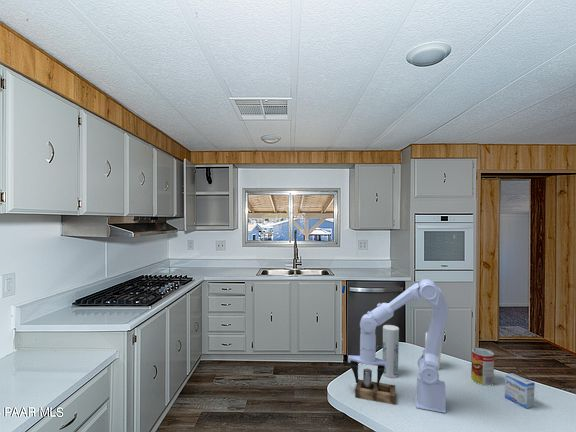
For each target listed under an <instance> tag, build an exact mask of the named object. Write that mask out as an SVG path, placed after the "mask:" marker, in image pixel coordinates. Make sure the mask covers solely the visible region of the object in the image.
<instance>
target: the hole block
mask: <svg viewBox="0 0 576 432" xmlns="http://www.w3.org/2000/svg"><path fill="white" fill-rule="evenodd" d="M354 393H355V394H354V395H355V396H354V397H355V398H357V399H360V400H361V399H362V400H367V401H374V402H380V403H383V404H384V403H385V404H389V405H396V385H395V384H390V383H383V382H379V387H378V386H377V381H372V383H371V389H365V388H363V379H359V378H358V383H356V384H355V391H354Z"/></svg>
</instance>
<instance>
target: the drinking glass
mask: <svg viewBox="0 0 576 432" xmlns="http://www.w3.org/2000/svg"><path fill="white" fill-rule="evenodd" d="M427 335H428V331H426V332H425V336H424V339H425V340H424V344H426V340H427ZM442 345H443V341H442V342H441V347H440V351H439V356H438V371H439V370H440V367H441V364H440V363H441V355H442Z"/></svg>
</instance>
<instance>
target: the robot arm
mask: <svg viewBox="0 0 576 432" xmlns="http://www.w3.org/2000/svg"><path fill="white" fill-rule="evenodd" d="M421 299H422V300H423V301H425V302H427V303H428V304H429V305H430V306H431V308H432V310H431V311H432V312H431V316H430V321H429V326H428V329H427V330H428V331H427V332H428V335H427V340H426V344H425V343H424V344H425V345H424V349H423V350H422V355H421V356H420V357H419V358H418V361H417V367H418V370H419V373H418V374H416V395H414V400H415V408H416V409H422V410H427V411H432V412H438V413H445V414H446V411H447V410H446V409H447V407H446V404H447V398H446V397H447V390H446V388H447V387H446V382H445V381H443V380H441V379H440V373H439V370H438V356H439V351H440V347H441V342H442V343H443V336H444V332H445V328H446V322H447V318H448V312H449V305H448V302H447V301H446V299H445V296H444V295H443V292H442V290H441V289H440V287H439V285H437V284H436V283H435V281H434V280H432V279H430V278H422V279H420V281H419V282H415V283H413V285H411V286H410V287H408V288H406V289H405V290H404V291H402V292H401V293H400V294H399V295H397V296H396V297H395V298H394V299H392V300H391V301H390V302H389V303H387V302H382V303H381V302H378V303H377V304H376V307H375V308H374V309H372V310H368V311H367V312H366V313H365V314H363V315H362V316H361V318H360V321H359V328H360V334H359V336H360V337H359V355H351V354H350V355H348V356H347V363H350V369H351V370H352V373H353V375H354V380H355V383H356V384H357V383H358V379H359V364H362V365H363V364H364V365H369V366H375V367H377V369H376V370H377V373H376V376H377V377H376V378H377V379H376V382H377V386H378V387H379V383H381V382H380V381H381V379H382V376H383V373H384V370H385V368H388V361H386V360H383V358H377V357H376V356H377V355H376V352H377V350H376V348H377V346H376V345H377V344H376V343H377V335H376V328H377V327H378V326H381V325H382V324H384V323H385V322H387V321H388V320H390V319H391V318H392V317H394V313H395V311H396V310H398V309H400V308H402V307H403V306H405V305H406V304H408V303H409V302H411V301H413V300H414V301H422V300H421Z"/></svg>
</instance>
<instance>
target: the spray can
mask: <svg viewBox="0 0 576 432" xmlns="http://www.w3.org/2000/svg"><path fill="white" fill-rule="evenodd" d="M399 335H400V328H399V327H398V326H396V325H392V324H384V325H383V326H382V360H386V361H388V368H385V370H384V373H383V374H382V376H384V377H386V378H389V379H395V378H397V377H398V376H399V349H400V348H399V344H400V343H399V342H400V336H399Z"/></svg>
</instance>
